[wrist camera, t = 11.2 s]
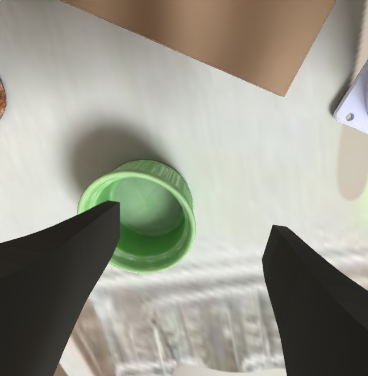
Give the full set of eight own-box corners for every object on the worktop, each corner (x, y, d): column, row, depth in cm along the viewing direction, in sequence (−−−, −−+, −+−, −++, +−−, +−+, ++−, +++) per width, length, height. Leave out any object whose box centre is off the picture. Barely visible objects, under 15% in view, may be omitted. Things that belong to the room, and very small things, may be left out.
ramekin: (84, 167, 21) (54, 187, 17) (181, 140, 20) (174, 156, 16) (122, 248, 25) (105, 281, 21) (209, 232, 23) (209, 265, 19)
